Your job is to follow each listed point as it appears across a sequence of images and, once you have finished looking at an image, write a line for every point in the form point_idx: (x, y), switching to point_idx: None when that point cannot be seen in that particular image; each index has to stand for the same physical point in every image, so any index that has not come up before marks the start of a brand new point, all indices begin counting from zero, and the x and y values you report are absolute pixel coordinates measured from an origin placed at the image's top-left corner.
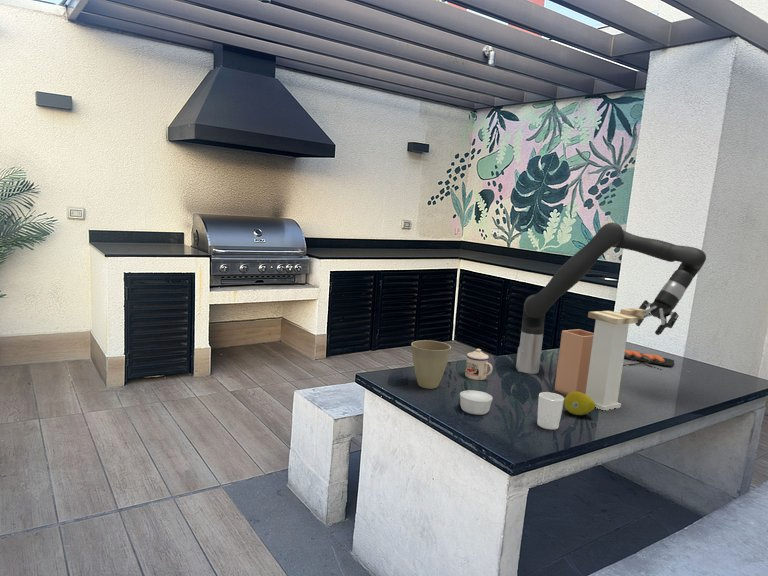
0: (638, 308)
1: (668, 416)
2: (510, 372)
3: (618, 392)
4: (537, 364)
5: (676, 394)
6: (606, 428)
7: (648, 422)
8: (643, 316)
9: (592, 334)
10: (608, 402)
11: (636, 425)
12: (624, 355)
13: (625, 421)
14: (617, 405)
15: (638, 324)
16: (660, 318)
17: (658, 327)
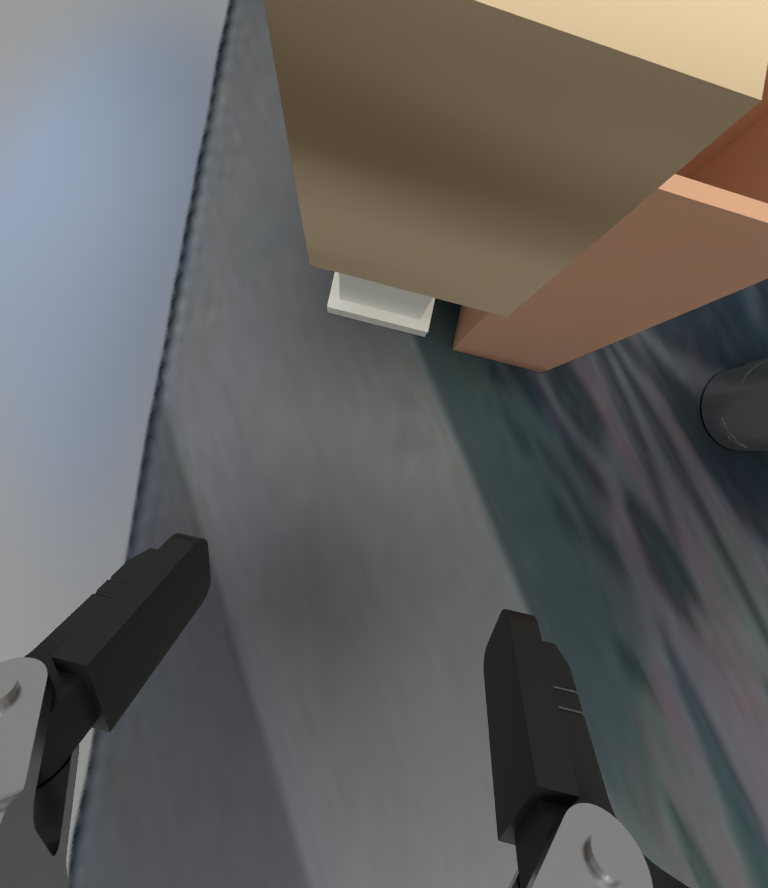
0: (697, 75)
1: (174, 379)
2: (755, 328)
3: (339, 277)
4: (738, 399)
5: (255, 701)
6: (267, 65)
7: (198, 246)
8: (306, 214)
9: (691, 187)
10: None
11: (214, 179)
12: None
13: (255, 185)
14: (332, 287)
15: (496, 646)
16: (3, 819)
17: (136, 605)
